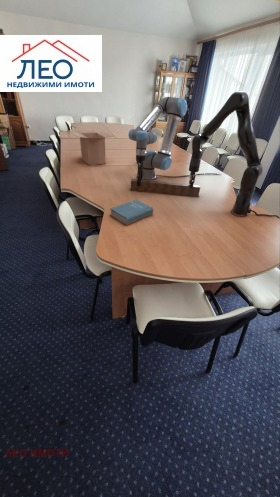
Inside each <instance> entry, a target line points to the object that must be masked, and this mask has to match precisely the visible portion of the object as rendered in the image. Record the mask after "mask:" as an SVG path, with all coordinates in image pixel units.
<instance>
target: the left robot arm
mask: <svg viewBox="0 0 280 497" xmlns="http://www.w3.org/2000/svg"><path fill="white" fill-rule="evenodd" d="M187 110H188V104H187V101H186V99H185V98H183V97H175V96H174V97H173V96H166V97H163V98H161V99H160V100H158V101H157V102H156V103H155V104H153V106H152V109H151V110H150V112H148V114H147V115H146V116H145V117H144V118H143V119H142V120H141V122H140V123H139V124H138V125H137V126H136V127H135V129H134V128H132V129H131V128H130V130H129V131H128V139H129V140H131V141H134V142H135V143H136V144H135V145H136V146H135V154H136V155H135V161H136V160H137V161H139V162H138V163H137V171H136V172H137V174H136V176H135V177H136V178H135V179H137V186H141V180H148V181H154V180H156V178H157V177H164V178H173V176H170V175H161V174H160V175H158V174H156V169H157V170H160V171H167V170H168V169H170V168H171V165H172V164H173V158H172V154H171V149H172V146H173V142H174V139H175V136H176V132H177V129H178V125H179V121H181V120H182V117H185V116H186V114H187ZM163 115H166V116H167V121H166V126H165V130H164V134H163V138H162V141H161V145H160V149H159V150H157V151H156V150H153V149H151V150H147V147H148V145H153V144H155V143H156V142H157V141H158V135H157V133H156V132H155V131H150V132H148V131H149V129H150V128H151V127H152V126H153V125H154V124H155V122H156V121H157V120H158V119H159V118H160V117H161V118H162V116H163ZM137 161H136V162H137ZM195 174H196V176H200V175H201V176H202V175H203V173H195ZM206 175H216V173H207V172H206ZM185 177H190V174H188V175H178V176H177V175H176V176H174V178H185Z"/></svg>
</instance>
